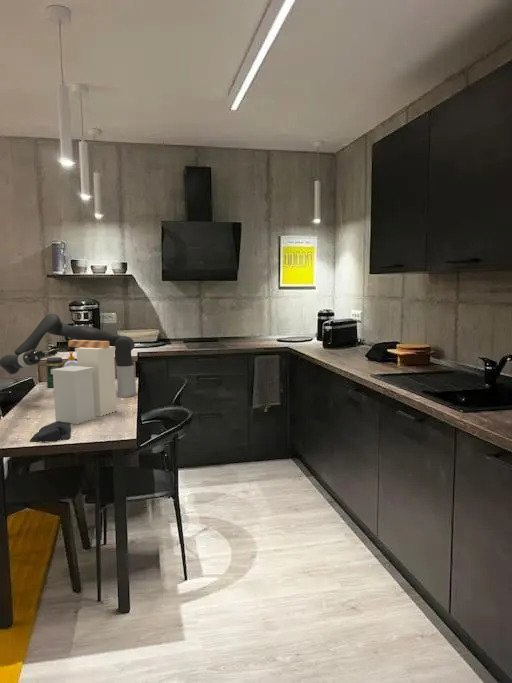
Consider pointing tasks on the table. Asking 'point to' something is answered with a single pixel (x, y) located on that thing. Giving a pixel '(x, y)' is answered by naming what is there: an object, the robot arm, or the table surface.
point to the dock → (73, 394)
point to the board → (88, 344)
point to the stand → (100, 376)
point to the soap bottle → (71, 361)
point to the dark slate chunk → (53, 432)
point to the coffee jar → (52, 364)
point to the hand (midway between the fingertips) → (49, 352)
